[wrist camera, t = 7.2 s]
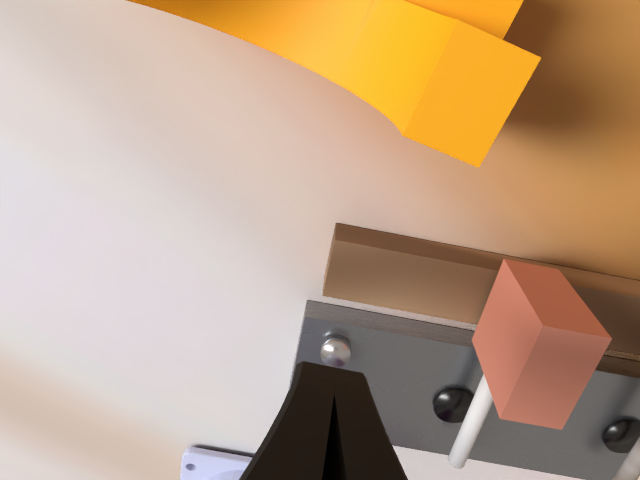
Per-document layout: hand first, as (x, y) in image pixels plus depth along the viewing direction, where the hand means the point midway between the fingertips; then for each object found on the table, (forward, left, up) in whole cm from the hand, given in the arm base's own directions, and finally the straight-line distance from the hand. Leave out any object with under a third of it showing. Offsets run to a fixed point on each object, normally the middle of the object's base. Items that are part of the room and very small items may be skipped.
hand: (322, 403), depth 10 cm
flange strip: (-7, -8, -10) cm, 14 cm away
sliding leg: (-4, -7, -8) cm, 12 cm away
